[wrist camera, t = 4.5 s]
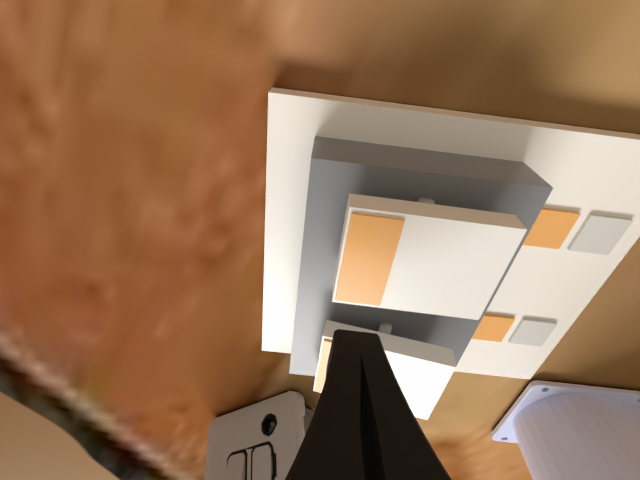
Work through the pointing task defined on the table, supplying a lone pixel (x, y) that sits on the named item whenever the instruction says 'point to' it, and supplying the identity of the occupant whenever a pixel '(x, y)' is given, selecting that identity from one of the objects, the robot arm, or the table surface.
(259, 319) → the table surface
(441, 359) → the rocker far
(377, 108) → the switch unit
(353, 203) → the rocker near
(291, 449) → the electrical switch
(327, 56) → the table surface
